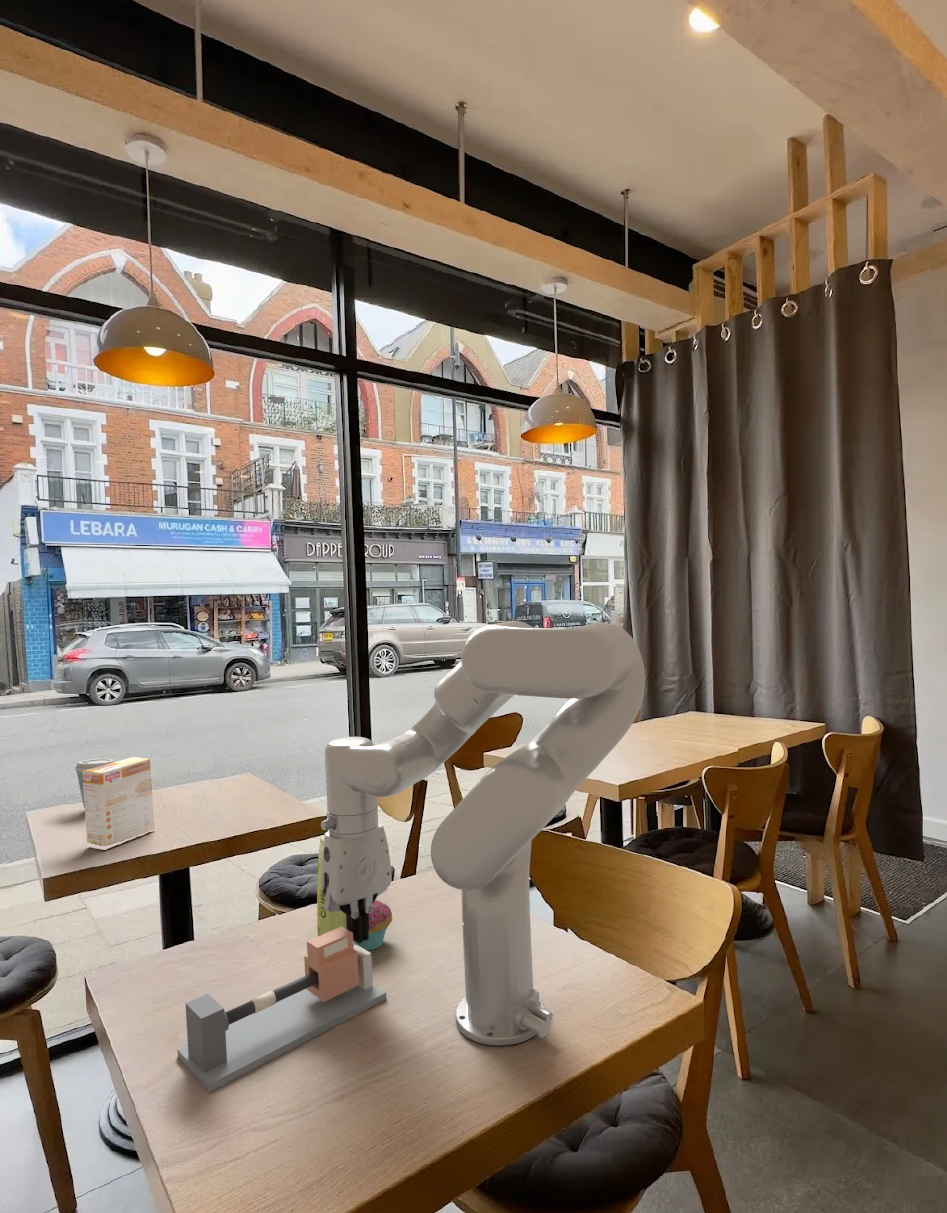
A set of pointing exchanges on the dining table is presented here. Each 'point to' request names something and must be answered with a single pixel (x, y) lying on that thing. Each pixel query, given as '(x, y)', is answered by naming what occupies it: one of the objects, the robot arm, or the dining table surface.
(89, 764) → the disposable coffee cup
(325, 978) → the sleeve
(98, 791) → the coffeecake box
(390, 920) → the cupcake
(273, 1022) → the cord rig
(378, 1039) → the dining table surface
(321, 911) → the tube
